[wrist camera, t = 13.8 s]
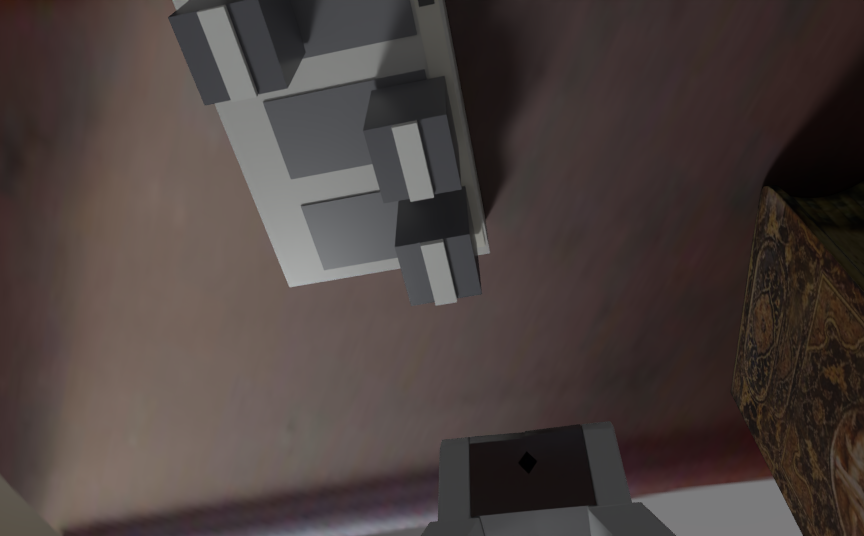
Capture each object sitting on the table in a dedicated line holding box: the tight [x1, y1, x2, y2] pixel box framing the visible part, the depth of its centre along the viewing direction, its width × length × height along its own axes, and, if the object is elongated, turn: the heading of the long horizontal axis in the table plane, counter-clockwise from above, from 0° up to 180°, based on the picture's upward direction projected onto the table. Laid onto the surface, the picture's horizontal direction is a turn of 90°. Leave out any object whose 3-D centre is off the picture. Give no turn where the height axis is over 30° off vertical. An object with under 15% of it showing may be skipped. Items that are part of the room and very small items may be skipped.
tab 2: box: [395, 186, 482, 306], centre depth 29 cm, size 3×3×4 cm
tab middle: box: [363, 76, 462, 203], centre depth 26 cm, size 3×3×4 cm
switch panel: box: [172, 0, 490, 287], centre depth 29 cm, size 10×15×3 cm, turn 12°
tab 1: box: [168, 0, 306, 105], centre depth 24 cm, size 3×3×4 cm
